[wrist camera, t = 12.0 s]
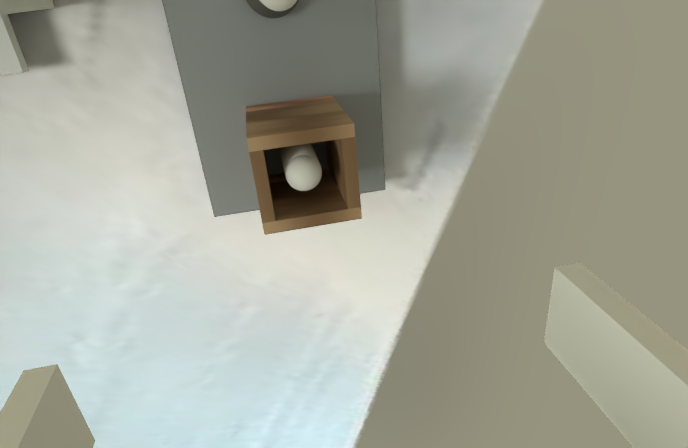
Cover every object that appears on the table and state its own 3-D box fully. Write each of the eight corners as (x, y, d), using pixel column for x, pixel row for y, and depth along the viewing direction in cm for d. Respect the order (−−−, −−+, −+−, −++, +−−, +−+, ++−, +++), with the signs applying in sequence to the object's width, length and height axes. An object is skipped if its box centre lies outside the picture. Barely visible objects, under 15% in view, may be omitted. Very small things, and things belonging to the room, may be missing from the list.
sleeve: (260, 186, 32) (264, 234, 26) (245, 106, 29) (246, 138, 23) (339, 174, 33) (361, 218, 26) (331, 94, 30) (354, 123, 24)
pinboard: (215, 207, 33) (207, 271, 26) (143, -97, 25) (101, -131, 18) (380, 181, 35) (417, 235, 28) (363, -114, 27) (410, -152, 19)
